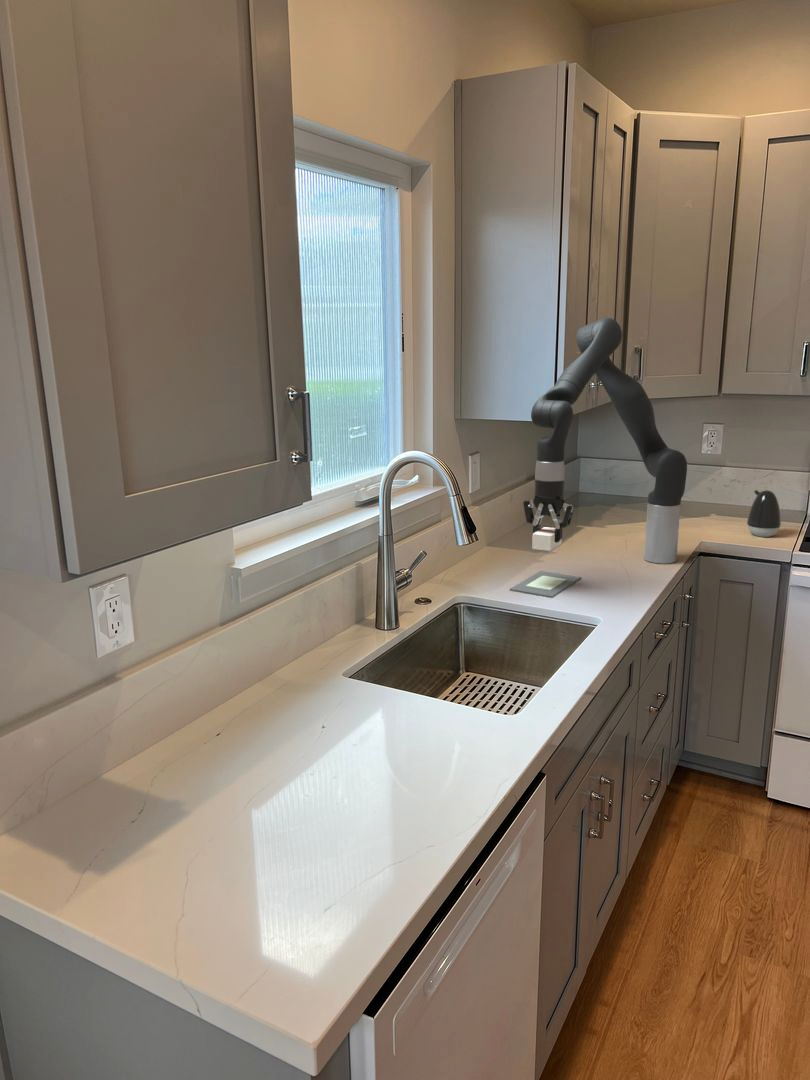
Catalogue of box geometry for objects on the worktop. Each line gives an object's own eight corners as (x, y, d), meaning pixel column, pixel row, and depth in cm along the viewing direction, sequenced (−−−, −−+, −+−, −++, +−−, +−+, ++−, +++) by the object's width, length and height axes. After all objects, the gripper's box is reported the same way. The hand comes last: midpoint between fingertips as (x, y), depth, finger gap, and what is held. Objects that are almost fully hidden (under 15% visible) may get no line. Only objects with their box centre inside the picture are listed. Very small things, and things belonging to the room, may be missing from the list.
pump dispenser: (763, 530, 271) (767, 486, 268) (786, 537, 262) (791, 492, 258) (738, 533, 268) (743, 488, 265) (761, 540, 259) (765, 494, 255)
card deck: (532, 548, 210) (532, 533, 209) (543, 541, 217) (544, 526, 216) (550, 550, 207) (550, 535, 206) (561, 543, 215) (562, 528, 214)
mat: (540, 571, 226) (540, 570, 226) (581, 578, 220) (581, 576, 220) (509, 590, 210) (509, 588, 210) (552, 597, 204) (552, 595, 204)
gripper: (518, 477, 209) (516, 539, 213) (570, 482, 201) (567, 547, 205) (530, 473, 215) (528, 534, 219) (581, 477, 207) (578, 541, 211)
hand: (547, 540), depth 212 cm, fingers closed on card deck, 5 cm apart
